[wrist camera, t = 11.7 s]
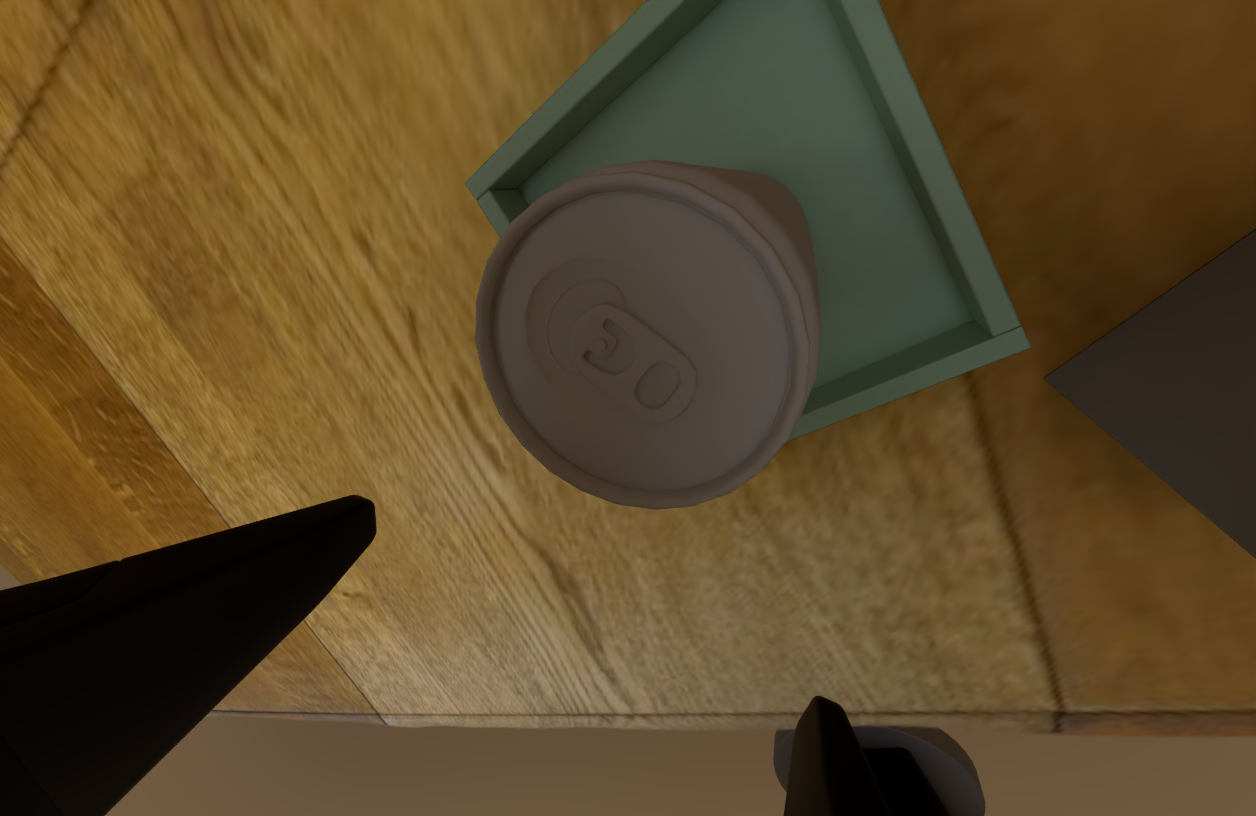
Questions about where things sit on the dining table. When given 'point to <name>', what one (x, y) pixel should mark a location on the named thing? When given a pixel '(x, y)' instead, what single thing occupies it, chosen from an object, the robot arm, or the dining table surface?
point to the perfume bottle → (1185, 389)
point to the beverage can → (653, 329)
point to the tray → (793, 175)
